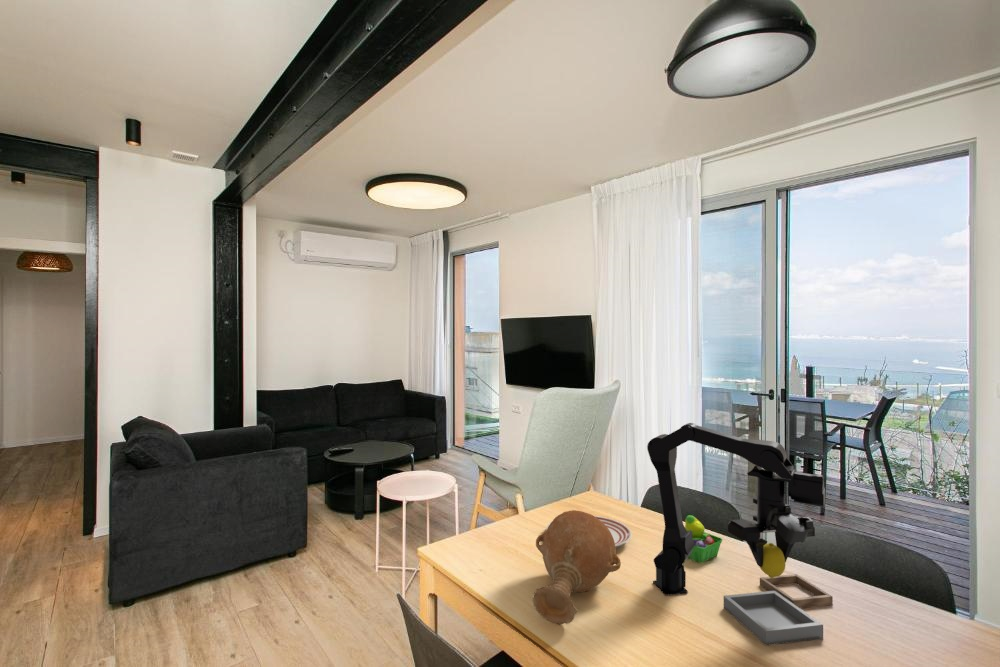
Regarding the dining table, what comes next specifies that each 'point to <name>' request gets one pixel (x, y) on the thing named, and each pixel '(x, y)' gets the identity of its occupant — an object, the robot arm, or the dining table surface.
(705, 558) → the fruit basket
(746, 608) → the tray
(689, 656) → the dining table surface
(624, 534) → the dinner plate
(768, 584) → the lemon holder
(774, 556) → the lemon
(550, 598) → the jug
